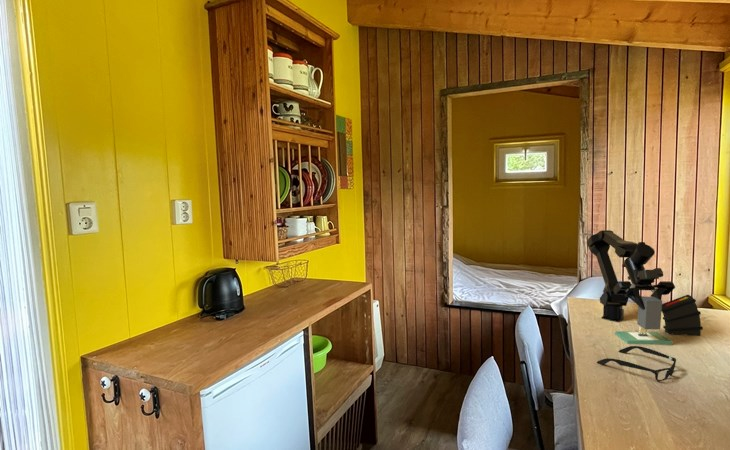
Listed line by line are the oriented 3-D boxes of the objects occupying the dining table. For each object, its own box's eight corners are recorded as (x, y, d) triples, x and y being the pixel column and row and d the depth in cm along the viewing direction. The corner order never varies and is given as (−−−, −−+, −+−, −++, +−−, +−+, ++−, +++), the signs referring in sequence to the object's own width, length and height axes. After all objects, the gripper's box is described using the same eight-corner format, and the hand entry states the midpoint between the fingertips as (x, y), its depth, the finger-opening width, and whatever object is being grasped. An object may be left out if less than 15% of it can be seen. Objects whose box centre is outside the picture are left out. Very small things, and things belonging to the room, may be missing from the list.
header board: (615, 334, 153) (615, 322, 153) (657, 335, 151) (657, 322, 151) (627, 343, 144) (628, 330, 144) (672, 344, 143) (673, 331, 142)
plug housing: (645, 329, 142) (646, 300, 141) (637, 324, 147) (638, 296, 146) (660, 329, 141) (662, 300, 140) (651, 324, 146) (653, 296, 145)
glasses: (657, 390, 115) (659, 374, 114) (595, 364, 130) (596, 350, 129) (681, 374, 124) (683, 358, 123) (620, 352, 139) (621, 338, 138)
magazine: (711, 332, 148) (694, 296, 148) (674, 345, 151) (657, 310, 151) (705, 328, 152) (688, 293, 152) (669, 341, 155) (652, 307, 155)
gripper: (618, 260, 146) (633, 298, 137) (673, 259, 144) (692, 298, 134) (607, 275, 155) (620, 312, 145) (659, 275, 153) (675, 313, 143)
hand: (651, 309), depth 142 cm, fingers closed on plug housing, 5 cm apart
